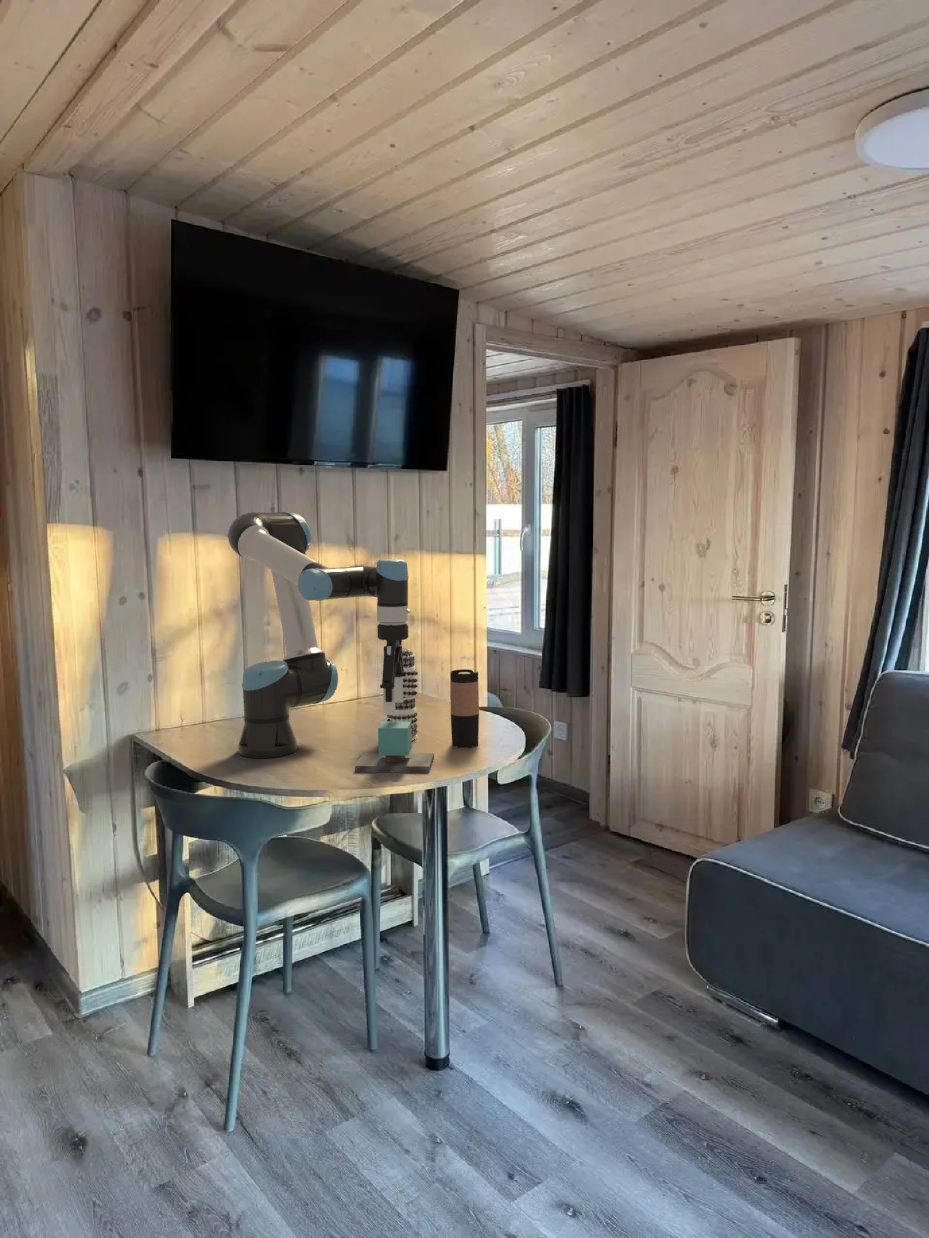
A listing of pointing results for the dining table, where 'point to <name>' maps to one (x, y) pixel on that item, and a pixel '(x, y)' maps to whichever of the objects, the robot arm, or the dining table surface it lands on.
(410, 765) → the grey base with post
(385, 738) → the mint green cube
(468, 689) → the travel mug
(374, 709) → the dining table surface
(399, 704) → the decorative candle
